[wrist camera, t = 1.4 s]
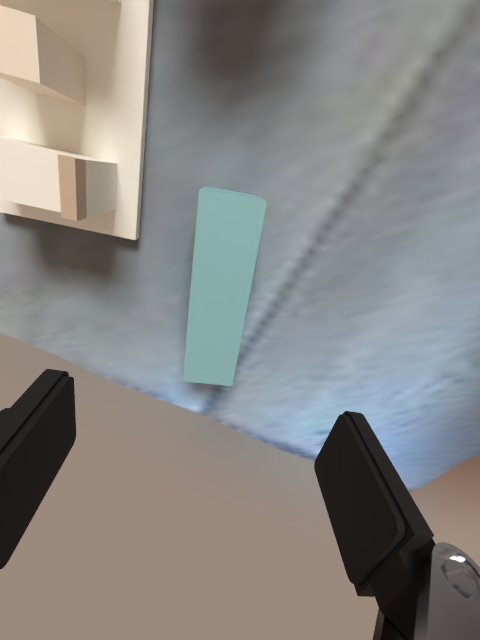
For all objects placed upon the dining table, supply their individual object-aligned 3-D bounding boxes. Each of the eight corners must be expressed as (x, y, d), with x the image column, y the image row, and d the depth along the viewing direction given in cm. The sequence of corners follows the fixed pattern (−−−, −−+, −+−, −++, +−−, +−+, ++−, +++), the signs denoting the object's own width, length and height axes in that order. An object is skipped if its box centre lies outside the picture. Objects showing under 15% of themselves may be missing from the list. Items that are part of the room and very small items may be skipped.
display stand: (160, -105, 15) (111, -317, 8) (138, 237, 23) (105, 262, 16) (-54, -187, 13) (-310, -522, 7) (3, 209, 21) (-93, 223, 15)
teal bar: (256, 195, 22) (267, 201, 17) (230, 346, 28) (232, 386, 23) (205, 186, 21) (199, 189, 16) (190, 341, 28) (182, 381, 22)
